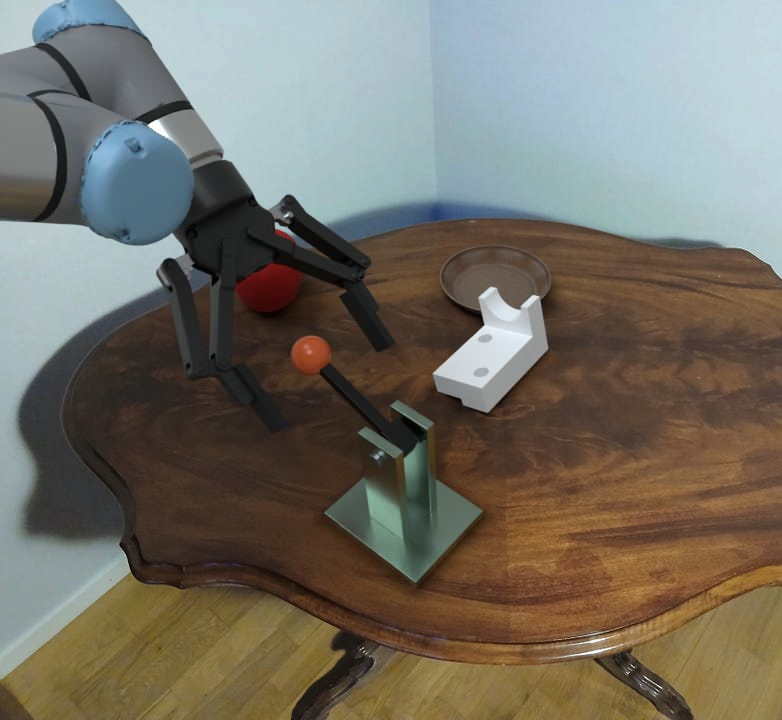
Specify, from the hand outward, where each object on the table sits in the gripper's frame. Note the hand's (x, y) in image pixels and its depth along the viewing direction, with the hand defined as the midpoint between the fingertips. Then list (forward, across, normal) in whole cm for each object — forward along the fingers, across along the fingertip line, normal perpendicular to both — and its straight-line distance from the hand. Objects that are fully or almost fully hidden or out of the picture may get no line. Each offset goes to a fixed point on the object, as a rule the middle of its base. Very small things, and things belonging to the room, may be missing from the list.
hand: (336, 386), depth 66 cm
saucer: (+5, -34, -15) cm, 38 cm away
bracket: (+11, -22, -10) cm, 26 cm away
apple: (-10, -14, -30) cm, 35 cm away
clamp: (+15, 0, -5) cm, 16 cm away
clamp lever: (+2, 0, 0) cm, 2 cm away
